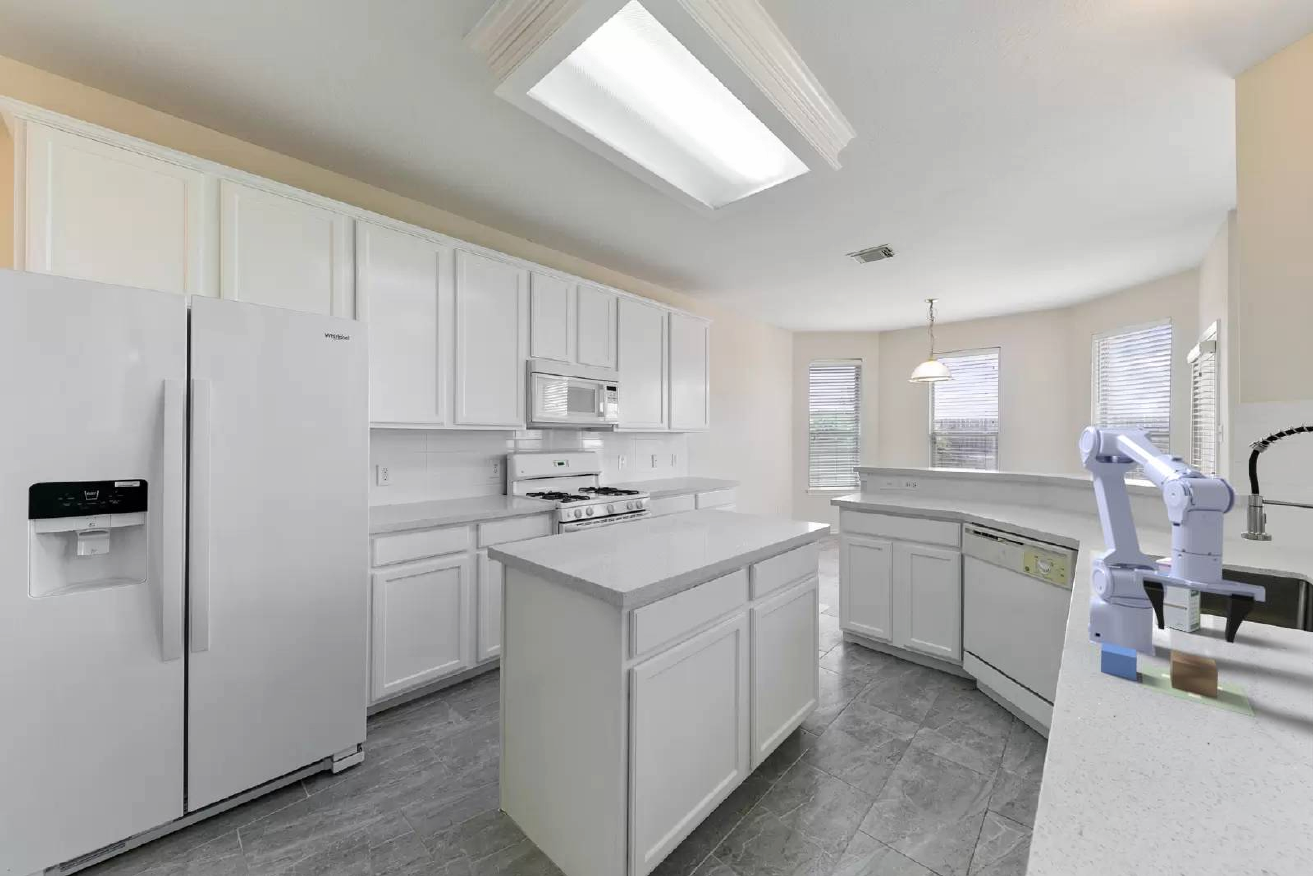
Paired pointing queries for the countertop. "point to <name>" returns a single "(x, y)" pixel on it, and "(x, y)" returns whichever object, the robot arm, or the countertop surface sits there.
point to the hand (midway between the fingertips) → (1194, 634)
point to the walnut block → (1194, 674)
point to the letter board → (1226, 693)
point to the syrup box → (1180, 604)
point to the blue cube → (1119, 661)
